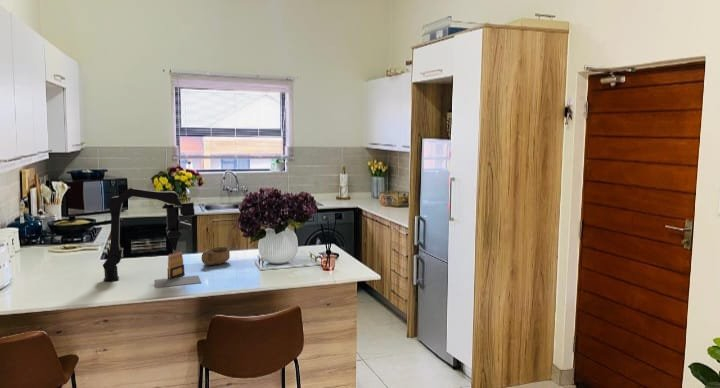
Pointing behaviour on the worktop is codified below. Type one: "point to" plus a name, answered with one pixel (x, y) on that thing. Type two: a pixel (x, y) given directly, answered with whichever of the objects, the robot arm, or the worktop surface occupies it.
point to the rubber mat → (177, 281)
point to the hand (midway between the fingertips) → (174, 248)
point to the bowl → (216, 255)
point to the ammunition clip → (175, 265)
